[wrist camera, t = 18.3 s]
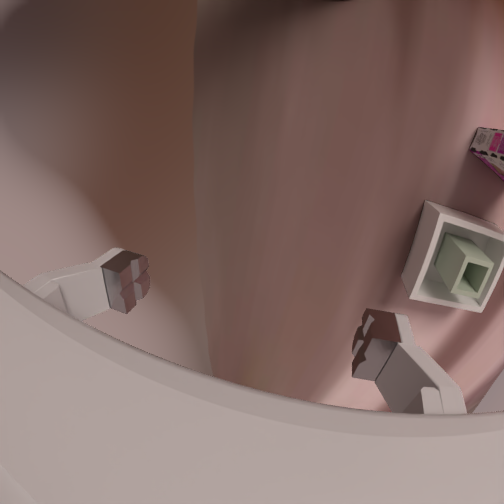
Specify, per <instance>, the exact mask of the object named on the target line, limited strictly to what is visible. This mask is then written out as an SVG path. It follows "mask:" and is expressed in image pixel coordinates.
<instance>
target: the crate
mask: <svg viewBox="0 0 504 504" xmlns="http://www.w3.org/2000/svg"><path fill="white" fill-rule="evenodd" d="M445 232H447V233H450V234H453V235H457V236H460V237H463V238H466V239H470V240H472V241H473V242H474V243H475V244H476V245H477V246H478V247H479V248H480V249H481V250H482V251H483V252H484V253H485V254H486V256H487V257H488V258H489V259H490V260H491V261H492V262H493V263H494V266H493V268H492V271H491V273H490V275H489V278H488V280H487V282H486V284H485V286H484V289H483V291H482V293H481V295H480V297H479V299H477V298H473V297H468V296H464V295H459V294H454V293H450V291H449V289H448V287H447V286H446V284H445V282H444V281H443V279H442V277H441V276H440V274H439V272H438V271H437V269H436V267H435V266H434V262H435V259H436V257H437V254H438V251H439V248H440V245H441V243H442V240H443V237H444V234H445ZM503 267H504V231H503V230H502V229H501V228H500V227H498V226H497V225H496V224H494V223H491V222H489V221H486V220H483V219H481V218H478V217H475V216H472V215H470V214H467V213H464V212H461V211H458V210H455V209H452V208H449V207H446V206H443V205H440V204H437V203H433V202H430V201H427V200H425V202H424V206H423V210H422V213H421V217H420V220H419V224H418V227H417V231H416V234H415V237H414V240H413V243H412V246H411V249H410V252H409V255H408V258H407V261H406V264H405V267H404V269H403V272H402V275H401V278H402V281H403V283H404V286H405V289H406V292H407V294H408V297H409V299H413V300H418V301H423V302H428V303H433V304H438V305H443V306H448V307H454V308H459V309H464V310H469V311H475V312H480V313H482V311H483V309H484V307H485V306H486V304H487V302H488V300H489V298H490V296H491V294H492V292H493V289H494V287H495V285H496V283H497V281H498V279H499V276H500V274H501V272H502V269H503Z"/></svg>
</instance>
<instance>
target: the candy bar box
mask: <svg viewBox="0 0 504 504" xmlns="http://www.w3.org/2000/svg"><path fill="white" fill-rule="evenodd" d="M469 150H470V151H471V152H472V153H474V154H475V155H476V156H477V157H478V158H479V159H481V160H482V161H483V162H484V163H485V164H486V165H488V166H489V167H490V168H491V169H492V170H493V171H494V172H495V173H496V174H497V175H498V176H499V177H500V178H501V179H502V180H503V181H504V130H498V129H490V128H482V127H478V129H477V132H476V135H475V137H474V139H473V142H472V144H471V146H470V149H469Z"/></svg>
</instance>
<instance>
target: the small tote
mask: <svg viewBox="0 0 504 504" xmlns="http://www.w3.org/2000/svg"><path fill="white" fill-rule="evenodd" d="M434 266H435V267H436V269H437V271H438V272H439V274H440V276H441V277H442V279H443V281H444V282H445V284H446V286H447V287H448V289H449V291H450V293H454V294H459V295H464V296H468V297H473V298H477V299H479V297H480V295H481V293H482V291H483V289H484V286H485V284H486V282H487V280H488V278H489V275H490V273H491V271H492V268H493V266H494V263H493V262H492V261H491V260H490V259H489V258H488V257H487V256H486V254H485V253H484V252H483V251H482V250H481V249H480V248H479V247H478V246H477V245H476V244H475V243H474V242H473V241H472V240H470V239H466V238H463V237H460V236H457V235H453V234H450V233H447V232H445V234H444V237H443V240H442V243H441V245H440V248H439V251H438V254H437V257H436V259H435V262H434Z"/></svg>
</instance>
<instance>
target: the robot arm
mask: <svg viewBox="0 0 504 504" xmlns="http://www.w3.org/2000/svg"><path fill="white" fill-rule="evenodd" d="M148 267H149V263H148V258H147V257H146V256H144V255H141V254H137V253H134V252H131V251H127V250H124V249H120V248H113V249H111V250H110V251H108V252H107V253H105V254H103V255H102V256H100V257H99V258H97V259H96V260H94V261H93V262H91V263H84V264H79V265H75V266H71V267H66V268H63V269H58V270H54V271H49V272H45V273H41V274H39V275H37V276H36V277H34V278H33V279H31V280H30V281H29V282H27V283H26V284H24V285H23V286H22V285H20V284H19V283H17V282H16V281H14V280H13V279H12V278H10V277H9V276H7V275H6V274H5V273H3V272H2V271H0V504H504V411H496V412H486V413H470V414H467V411H466V407H465V403H464V399H463V395H462V392H461V388H460V387H459V386H458V385H457V384H456V383H455V382H454V381H453V380H452V379H451V377H450V376H449V375H448V374H447V373H446V372H445V371H444V370H443V369H442V368H441V367H440V366H439V365H438V364H437V363H436V362H435V361H434V360H433V359H432V358H431V357H430V356H429V355H428V354H427V353H426V352H425V351H424V350H423V349H422V348H421V347H420V346H416V344H415V340H414V336H413V333H412V329H411V326H410V322H409V319H408V316H407V315H405V314H399V313H391V312H385V311H379V310H373V309H368V308H366V310H365V312H364V314H363V316H362V325H361V326H360V327H358V328H357V331H356V333H355V336H354V340H353V345H352V354H353V355H354V356H355V358H354V360H353V362H352V377H354V378H359V379H365V380H371V381H375V384H376V385H377V387H378V389H379V391H380V392H381V394H382V396H383V397H384V399H385V401H386V402H387V404H388V406H389V407H390V409H391V411H392V412H382V411H372V410H363V409H355V408H347V407H340V406H333V405H327V404H321V403H316V402H310V401H305V400H300V399H296V398H291V397H286V396H282V395H278V394H274V393H269V392H265V391H261V390H258V389H254V388H250V387H247V386H243V385H239V384H236V383H233V382H229V381H226V380H223V379H220V378H216V377H213V376H210V375H207V374H204V373H201V372H198V371H195V370H192V369H189V368H187V367H184V366H181V365H178V364H176V363H173V362H170V361H168V360H165V359H163V358H160V357H158V356H155V355H153V354H150V353H148V352H145V351H143V350H141V349H138V348H136V347H134V346H132V345H129V344H127V343H125V342H123V341H120V340H118V339H116V338H114V337H112V336H110V335H108V334H106V333H103V332H101V331H99V330H98V329H96V328H94V327H92V326H90V325H88V324H86V323H84V322H82V321H83V320H86V319H88V318H90V317H93V316H95V315H97V314H99V313H102V312H104V311H106V310H109V309H110V308H112V309H114V310H117V311H120V312H122V313H125V314H127V313H128V312H129V311H131V309H132V308H134V306H136V300H139V299H142V298H144V297H145V295H146V294H147V293H148V290H149V288H150V276H149V275H148V273H147V271H146V270H147V269H148Z"/></svg>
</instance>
